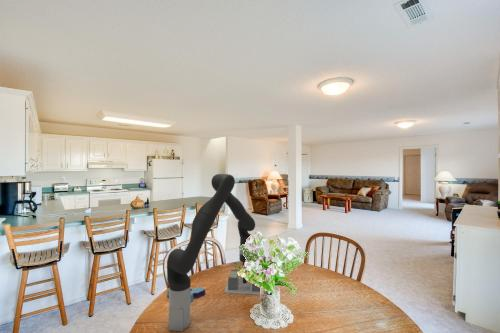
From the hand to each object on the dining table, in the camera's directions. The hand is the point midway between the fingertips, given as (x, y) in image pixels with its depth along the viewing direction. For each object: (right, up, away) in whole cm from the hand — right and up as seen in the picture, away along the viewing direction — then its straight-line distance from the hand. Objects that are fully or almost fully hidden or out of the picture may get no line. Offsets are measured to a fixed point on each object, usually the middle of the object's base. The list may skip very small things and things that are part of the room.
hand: (245, 279), depth 144 cm
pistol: (-32, -5, -9) cm, 33 cm away
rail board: (0, -5, 0) cm, 5 cm away
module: (0, -3, 0) cm, 3 cm away
